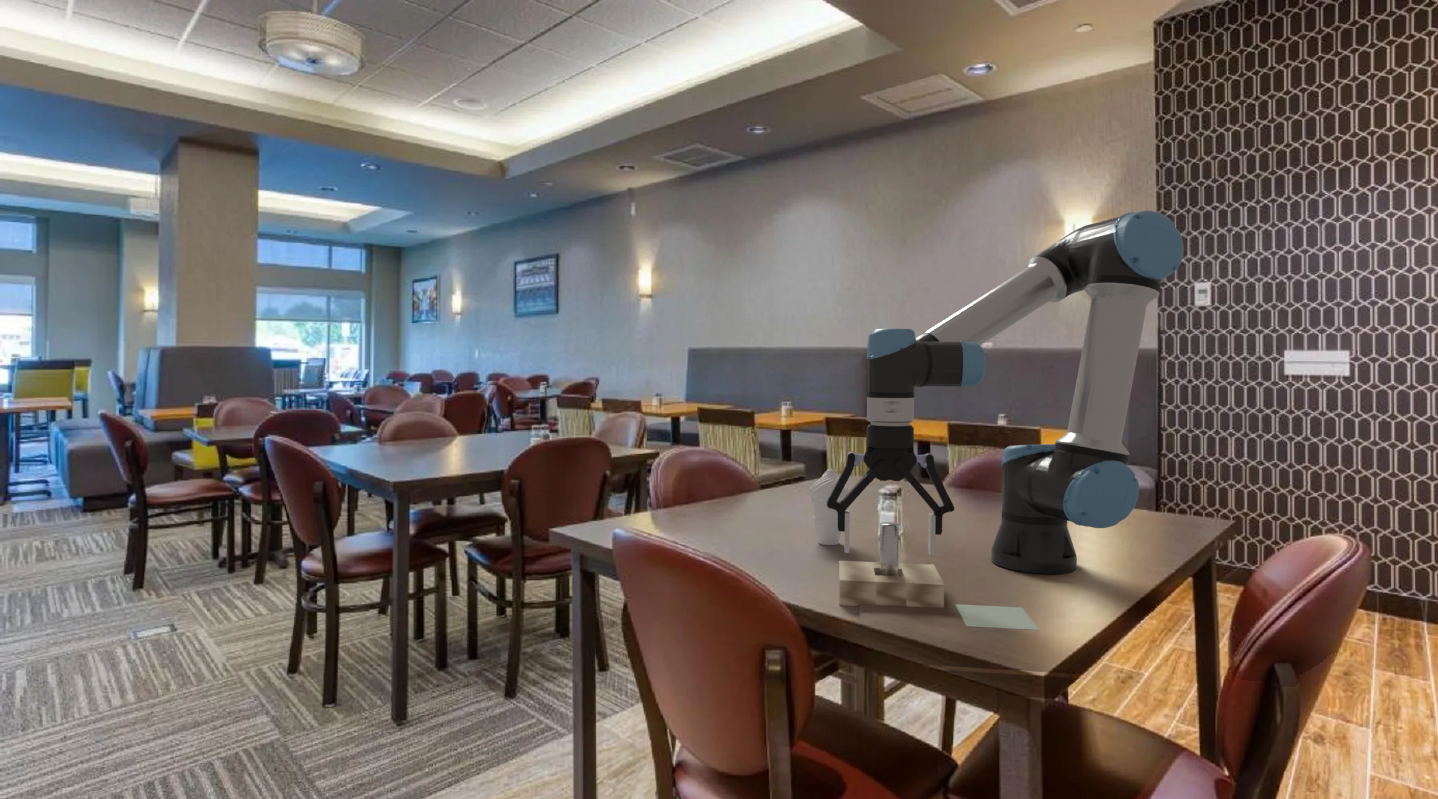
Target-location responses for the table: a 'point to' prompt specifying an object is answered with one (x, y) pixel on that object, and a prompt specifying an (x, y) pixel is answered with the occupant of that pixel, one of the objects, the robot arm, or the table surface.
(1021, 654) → the table surface
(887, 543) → the peg
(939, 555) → the table surface
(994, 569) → the table surface
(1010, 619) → the mat
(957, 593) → the table surface
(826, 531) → the soft serve ice cream cone
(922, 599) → the block
